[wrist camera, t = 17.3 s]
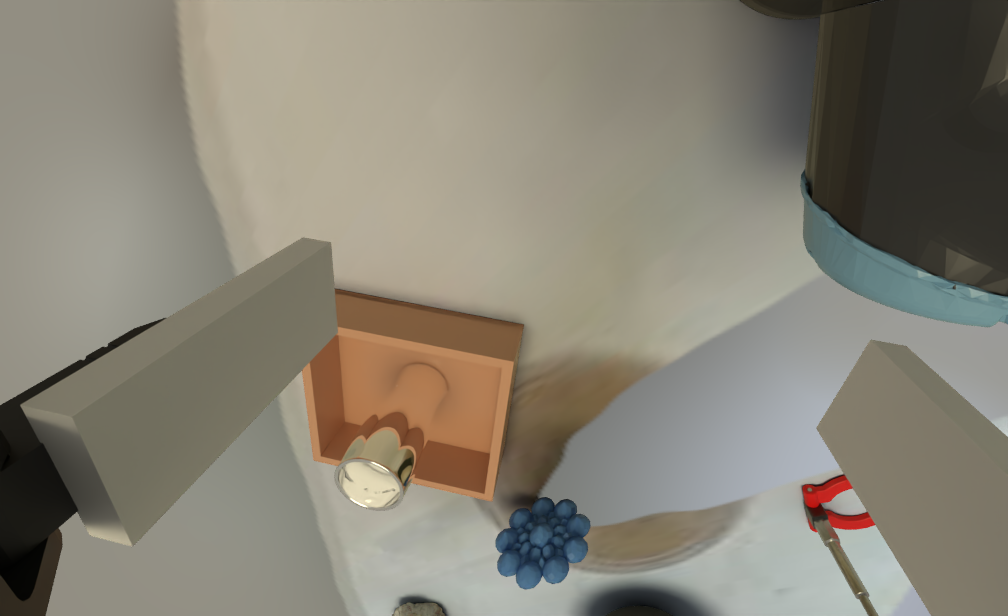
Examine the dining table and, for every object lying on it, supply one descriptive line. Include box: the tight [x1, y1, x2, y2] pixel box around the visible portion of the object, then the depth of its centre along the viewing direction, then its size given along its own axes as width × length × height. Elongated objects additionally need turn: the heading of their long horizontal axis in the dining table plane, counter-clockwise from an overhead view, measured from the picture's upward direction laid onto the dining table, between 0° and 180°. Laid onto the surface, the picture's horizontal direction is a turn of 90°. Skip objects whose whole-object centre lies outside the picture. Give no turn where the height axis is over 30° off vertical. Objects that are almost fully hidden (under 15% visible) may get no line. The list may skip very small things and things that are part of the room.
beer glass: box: [334, 363, 447, 511], centre depth 47 cm, size 7×7×15 cm
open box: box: [302, 289, 524, 501], centre depth 51 cm, size 22×20×7 cm
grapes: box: [496, 497, 590, 589], centre depth 56 cm, size 12×7×12 cm, turn 101°
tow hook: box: [802, 476, 878, 616], centre depth 47 cm, size 8×13×9 cm
